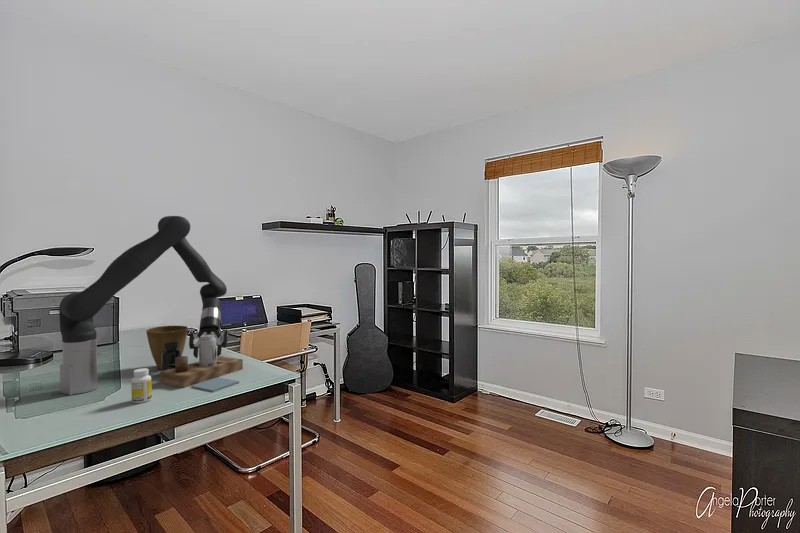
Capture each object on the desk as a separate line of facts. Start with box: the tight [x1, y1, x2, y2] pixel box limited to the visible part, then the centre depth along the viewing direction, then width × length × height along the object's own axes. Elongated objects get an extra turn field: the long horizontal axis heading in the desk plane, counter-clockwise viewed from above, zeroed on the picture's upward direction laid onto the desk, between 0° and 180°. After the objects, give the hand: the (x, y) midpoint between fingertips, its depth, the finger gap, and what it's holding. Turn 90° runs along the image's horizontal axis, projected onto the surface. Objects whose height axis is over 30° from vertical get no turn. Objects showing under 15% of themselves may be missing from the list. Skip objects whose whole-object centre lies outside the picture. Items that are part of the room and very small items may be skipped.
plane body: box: [159, 355, 244, 389], centre depth 156 cm, size 26×13×9 cm, turn 154°
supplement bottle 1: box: [130, 367, 153, 404], centre depth 129 cm, size 5×5×10 cm
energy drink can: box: [198, 335, 217, 368], centre depth 158 cm, size 6×6×15 cm
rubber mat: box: [191, 377, 240, 393], centre depth 144 cm, size 11×11×1 cm
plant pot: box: [146, 325, 189, 370], centre depth 168 cm, size 15×15×16 cm
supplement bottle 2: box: [160, 342, 181, 372], centre depth 158 cm, size 7×7×12 cm
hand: (207, 355), depth 156 cm, fingers open, 7 cm apart
